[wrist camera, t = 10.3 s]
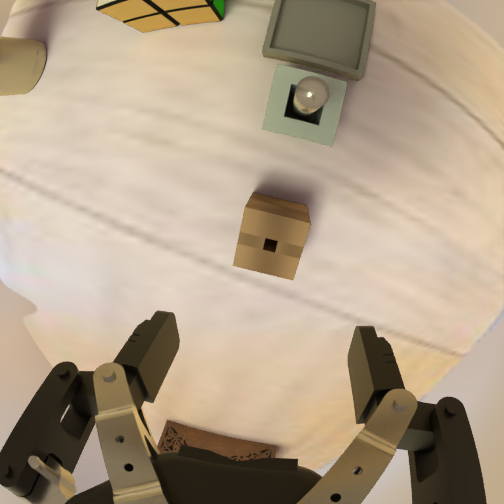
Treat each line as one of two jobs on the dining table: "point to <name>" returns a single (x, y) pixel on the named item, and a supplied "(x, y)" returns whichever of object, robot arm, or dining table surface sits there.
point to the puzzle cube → (162, 12)
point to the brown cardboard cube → (272, 236)
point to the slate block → (314, 126)
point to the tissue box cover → (212, 443)
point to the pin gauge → (310, 96)
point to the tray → (321, 34)
